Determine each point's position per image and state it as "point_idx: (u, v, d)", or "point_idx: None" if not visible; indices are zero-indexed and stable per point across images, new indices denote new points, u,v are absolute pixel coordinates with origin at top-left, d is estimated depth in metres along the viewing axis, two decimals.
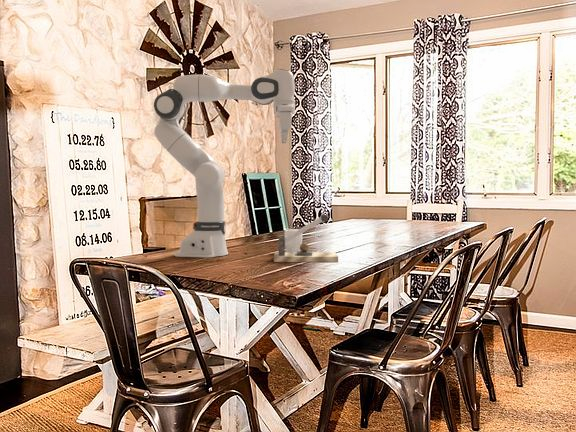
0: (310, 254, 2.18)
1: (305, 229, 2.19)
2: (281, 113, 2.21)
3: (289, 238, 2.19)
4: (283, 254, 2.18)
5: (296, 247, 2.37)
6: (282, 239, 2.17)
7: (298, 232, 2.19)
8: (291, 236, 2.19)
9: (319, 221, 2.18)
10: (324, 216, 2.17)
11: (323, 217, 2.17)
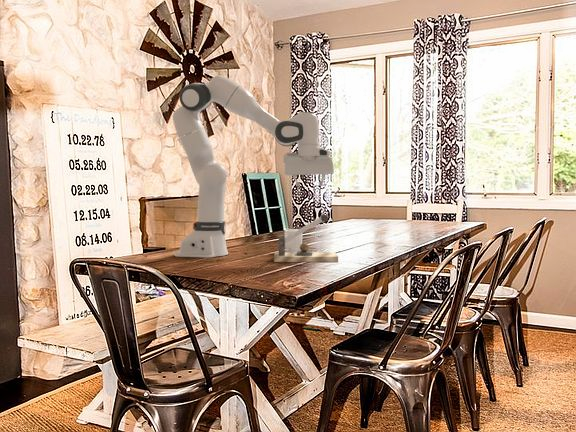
0: (310, 254, 2.18)
1: (305, 229, 2.19)
2: (331, 158, 2.24)
3: (289, 238, 2.19)
4: (283, 254, 2.18)
5: (296, 247, 2.37)
6: (282, 239, 2.17)
7: (298, 232, 2.19)
8: (291, 236, 2.19)
9: (319, 221, 2.18)
10: (324, 216, 2.17)
11: (323, 217, 2.17)
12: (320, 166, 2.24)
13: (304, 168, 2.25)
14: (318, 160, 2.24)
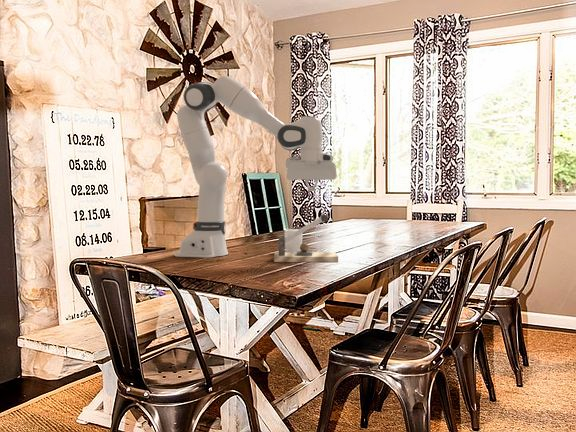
0: (310, 254, 2.18)
1: (305, 229, 2.19)
2: None
3: (289, 238, 2.19)
4: (283, 254, 2.18)
5: (296, 247, 2.37)
6: (282, 239, 2.17)
7: (298, 232, 2.19)
8: (291, 236, 2.19)
9: (319, 221, 2.18)
10: (324, 216, 2.17)
11: (323, 217, 2.17)
12: (323, 171, 2.22)
13: (307, 173, 2.22)
14: (321, 165, 2.22)
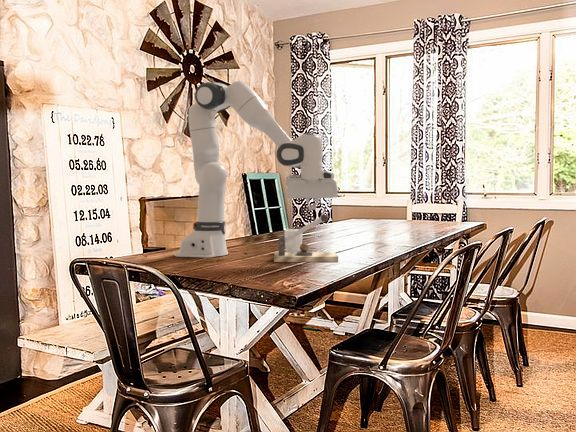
0: (310, 254, 2.18)
1: (305, 229, 2.19)
2: (335, 181, 2.17)
3: (289, 238, 2.19)
4: (283, 254, 2.18)
5: (296, 247, 2.37)
6: (282, 239, 2.17)
7: (298, 232, 2.19)
8: (291, 236, 2.19)
9: (319, 221, 2.18)
10: (324, 216, 2.17)
11: (323, 217, 2.17)
12: (324, 189, 2.17)
13: (307, 191, 2.17)
14: (322, 183, 2.17)
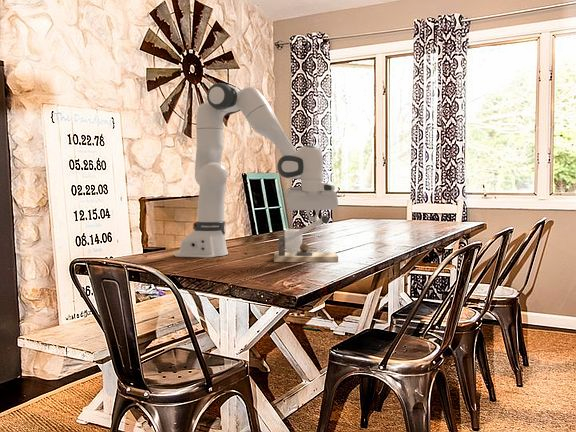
0: (310, 254, 2.18)
1: (305, 230, 2.19)
2: (335, 193, 2.17)
3: (289, 238, 2.19)
4: (283, 254, 2.18)
5: (296, 247, 2.37)
6: (282, 239, 2.17)
7: (298, 233, 2.19)
8: (291, 236, 2.19)
9: (320, 222, 2.18)
10: (325, 217, 2.17)
11: (324, 218, 2.17)
12: (324, 201, 2.18)
13: (308, 203, 2.18)
14: (322, 195, 2.17)
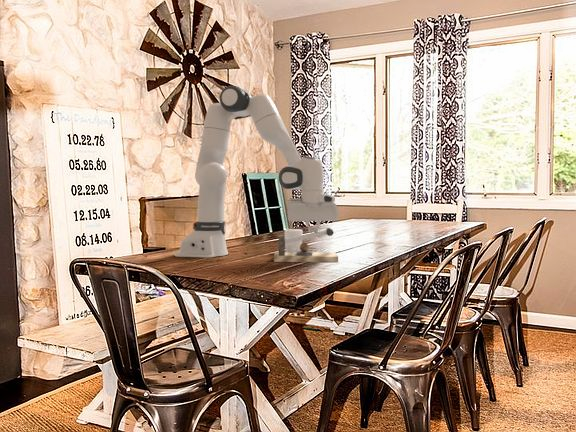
0: (310, 254, 2.18)
1: (308, 237, 2.19)
2: (335, 204, 2.18)
3: (290, 241, 2.19)
4: (283, 254, 2.18)
5: (296, 247, 2.37)
6: (282, 239, 2.17)
7: (300, 238, 2.19)
8: (292, 239, 2.19)
9: (324, 233, 2.19)
10: (330, 230, 2.17)
11: (329, 231, 2.17)
12: (325, 212, 2.18)
13: (308, 214, 2.18)
14: (322, 206, 2.18)
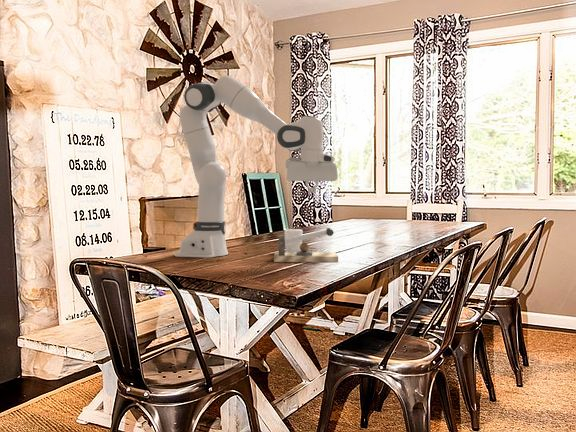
0: (310, 254, 2.18)
1: (308, 237, 2.19)
2: (335, 164, 2.17)
3: (290, 241, 2.19)
4: (283, 254, 2.18)
5: (296, 247, 2.37)
6: (282, 239, 2.17)
7: (300, 238, 2.19)
8: (292, 239, 2.19)
9: (324, 234, 2.19)
10: (330, 230, 2.17)
11: (329, 231, 2.17)
12: (324, 172, 2.17)
13: (307, 174, 2.17)
14: (322, 166, 2.16)
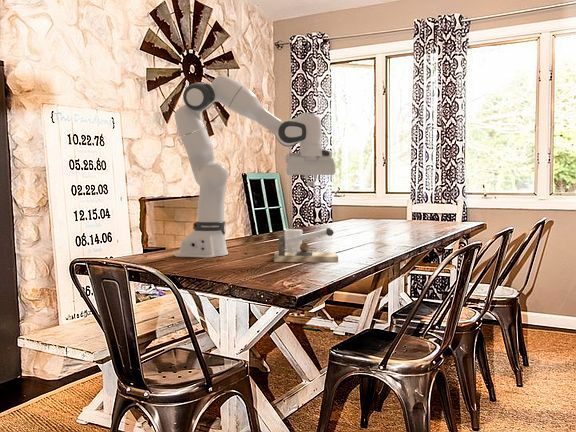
0: (310, 254, 2.18)
1: (308, 237, 2.19)
2: (332, 158, 2.26)
3: (290, 241, 2.19)
4: (283, 254, 2.18)
5: (296, 247, 2.37)
6: (282, 239, 2.17)
7: (300, 238, 2.19)
8: (292, 239, 2.19)
9: (324, 234, 2.19)
10: (330, 230, 2.17)
11: (329, 231, 2.17)
12: (322, 166, 2.26)
13: (306, 168, 2.26)
14: (320, 161, 2.26)
